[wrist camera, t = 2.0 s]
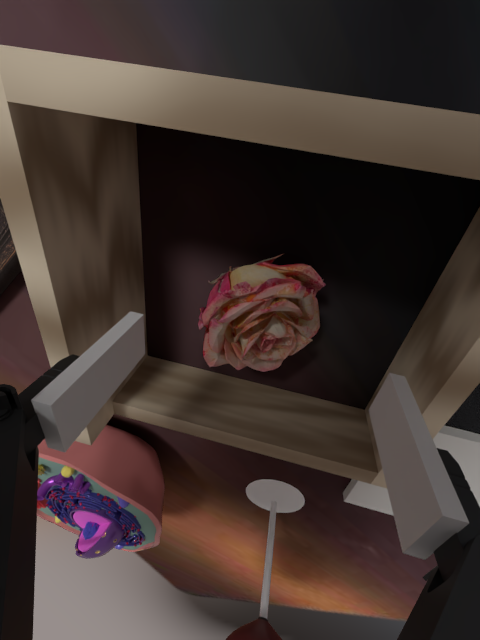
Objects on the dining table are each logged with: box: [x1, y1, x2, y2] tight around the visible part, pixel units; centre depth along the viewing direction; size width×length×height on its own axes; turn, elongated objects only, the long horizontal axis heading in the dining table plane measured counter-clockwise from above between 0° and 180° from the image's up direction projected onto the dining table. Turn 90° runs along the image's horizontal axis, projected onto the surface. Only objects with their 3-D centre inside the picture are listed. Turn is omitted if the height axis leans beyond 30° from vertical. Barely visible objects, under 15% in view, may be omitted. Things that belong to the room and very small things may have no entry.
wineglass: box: [226, 479, 305, 640], centre depth 28 cm, size 8×9×20 cm
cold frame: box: [0, 45, 480, 488], centre depth 18 cm, size 22×24×9 cm
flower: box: [198, 254, 326, 372], centre depth 19 cm, size 9×9×7 cm
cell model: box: [37, 424, 165, 558], centre depth 32 cm, size 17×20×11 cm
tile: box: [343, 425, 480, 516], centre depth 28 cm, size 14×14×1 cm
